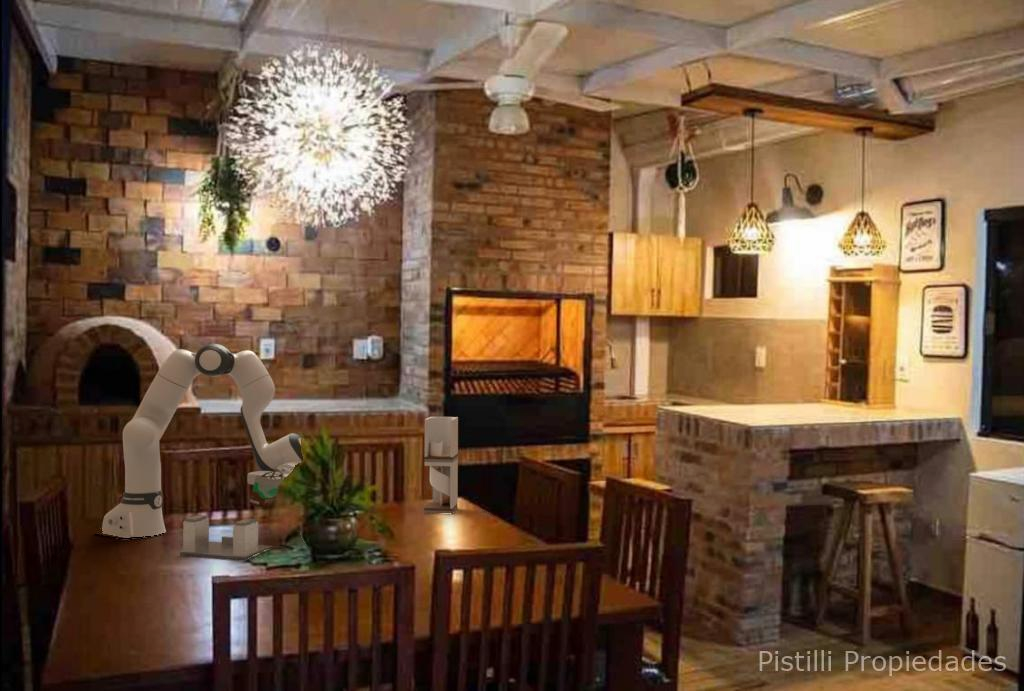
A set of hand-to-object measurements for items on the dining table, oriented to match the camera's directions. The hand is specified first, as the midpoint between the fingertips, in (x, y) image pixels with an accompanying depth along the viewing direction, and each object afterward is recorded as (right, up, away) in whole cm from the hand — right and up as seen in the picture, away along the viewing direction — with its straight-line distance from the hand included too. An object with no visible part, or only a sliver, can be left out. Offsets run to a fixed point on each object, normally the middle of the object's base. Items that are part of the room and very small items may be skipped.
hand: (266, 482), depth 289 cm
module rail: (-9, -19, -12) cm, 25 cm away
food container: (0, -6, -2) cm, 7 cm away
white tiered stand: (+51, -19, +56) cm, 78 cm away
